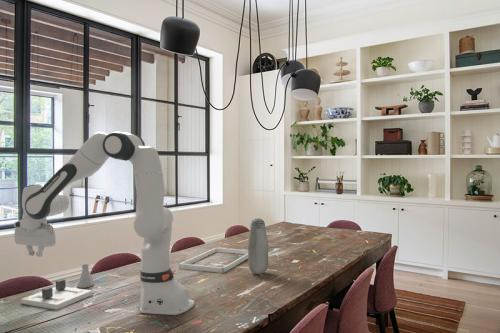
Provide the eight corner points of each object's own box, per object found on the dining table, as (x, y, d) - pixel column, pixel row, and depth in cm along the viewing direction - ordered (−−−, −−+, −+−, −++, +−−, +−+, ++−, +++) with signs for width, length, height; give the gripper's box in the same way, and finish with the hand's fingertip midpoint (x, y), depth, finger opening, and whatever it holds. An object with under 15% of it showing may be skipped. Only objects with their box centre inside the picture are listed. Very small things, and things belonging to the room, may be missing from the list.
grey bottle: (267, 276, 189) (265, 220, 188) (246, 276, 191) (245, 220, 191) (270, 271, 198) (268, 217, 198) (250, 270, 200) (249, 217, 200)
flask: (89, 282, 185) (88, 262, 185) (96, 285, 180) (96, 264, 180) (74, 286, 179) (73, 265, 179) (81, 289, 175) (81, 267, 175)
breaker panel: (92, 295, 167) (91, 290, 167) (56, 309, 150) (56, 304, 150) (58, 290, 174) (58, 285, 174) (21, 303, 158) (21, 298, 158)
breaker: (65, 288, 169) (65, 279, 169) (59, 290, 167) (59, 281, 166) (61, 287, 170) (61, 279, 170) (55, 289, 167) (55, 281, 167)
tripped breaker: (52, 296, 159) (52, 287, 158) (46, 299, 156) (46, 289, 156) (48, 295, 159) (48, 286, 159) (42, 298, 157) (41, 289, 157)
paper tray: (254, 254, 235) (254, 250, 235) (223, 273, 197) (223, 268, 197) (215, 251, 246) (215, 247, 246) (178, 268, 207) (178, 263, 207)
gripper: (59, 222, 159) (59, 255, 159) (25, 220, 167) (25, 252, 167) (45, 225, 153) (46, 259, 153) (11, 223, 161) (11, 255, 161)
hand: (35, 255), depth 160 cm, fingers open, 3 cm apart
